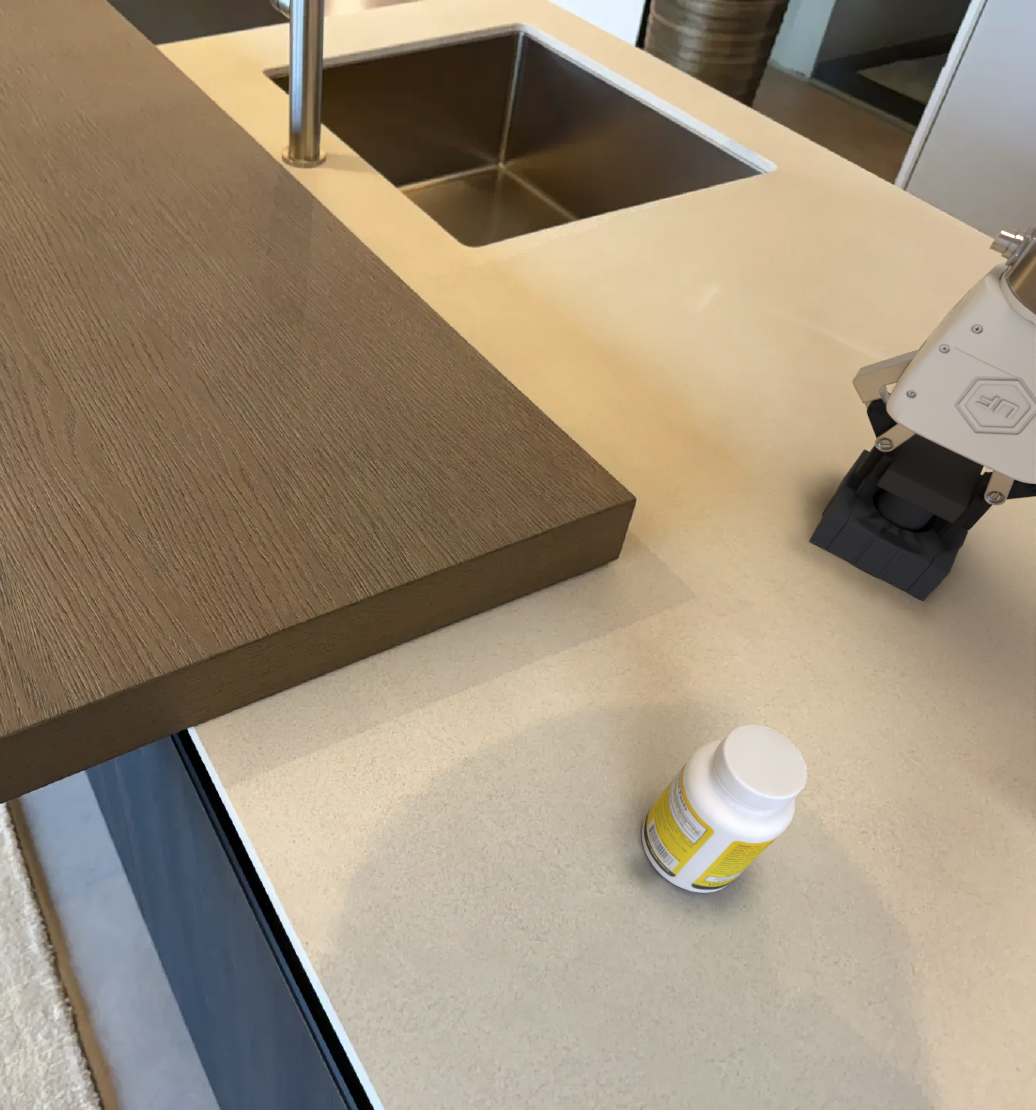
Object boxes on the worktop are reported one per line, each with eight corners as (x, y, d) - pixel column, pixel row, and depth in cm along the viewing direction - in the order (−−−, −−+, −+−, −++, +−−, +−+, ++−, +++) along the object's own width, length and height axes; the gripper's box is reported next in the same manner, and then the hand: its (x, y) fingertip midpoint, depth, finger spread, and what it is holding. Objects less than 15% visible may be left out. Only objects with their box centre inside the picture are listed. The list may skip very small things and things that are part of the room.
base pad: (954, 532, 74) (980, 503, 72) (924, 603, 70) (950, 575, 67) (842, 476, 77) (863, 447, 74) (806, 541, 72) (827, 512, 70)
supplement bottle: (749, 833, 58) (835, 746, 50) (722, 914, 55) (810, 836, 47) (656, 783, 59) (727, 692, 52) (624, 860, 56) (695, 775, 49)
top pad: (945, 510, 72) (984, 464, 69) (926, 553, 69) (966, 508, 66) (874, 475, 74) (909, 429, 70) (853, 515, 71) (888, 470, 67)
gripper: (914, 249, 57) (767, 476, 72) (1252, 391, 52) (1022, 606, 66) (948, 193, 62) (803, 418, 76) (1265, 320, 56) (1045, 536, 70)
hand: (907, 504), depth 71 cm, fingers closed on top pad, 4 cm apart
